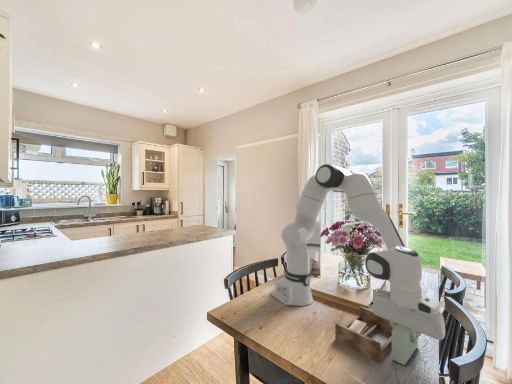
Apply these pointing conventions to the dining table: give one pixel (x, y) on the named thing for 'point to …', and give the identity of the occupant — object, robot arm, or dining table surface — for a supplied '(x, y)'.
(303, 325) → the dining table surface
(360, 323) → the offcut top
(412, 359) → the felt mat
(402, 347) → the pale green block
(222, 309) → the dining table surface
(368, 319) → the rack
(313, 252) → the display case
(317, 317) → the dining table surface
